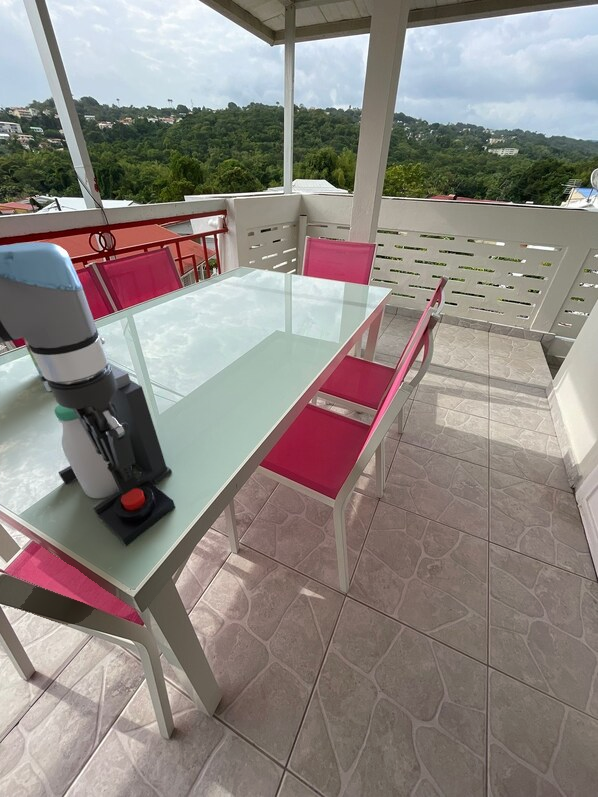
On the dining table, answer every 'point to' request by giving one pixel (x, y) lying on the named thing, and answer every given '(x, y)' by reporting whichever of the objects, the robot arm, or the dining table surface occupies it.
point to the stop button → (133, 499)
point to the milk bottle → (84, 456)
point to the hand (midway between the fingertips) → (129, 487)
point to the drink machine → (133, 436)
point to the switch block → (137, 514)
